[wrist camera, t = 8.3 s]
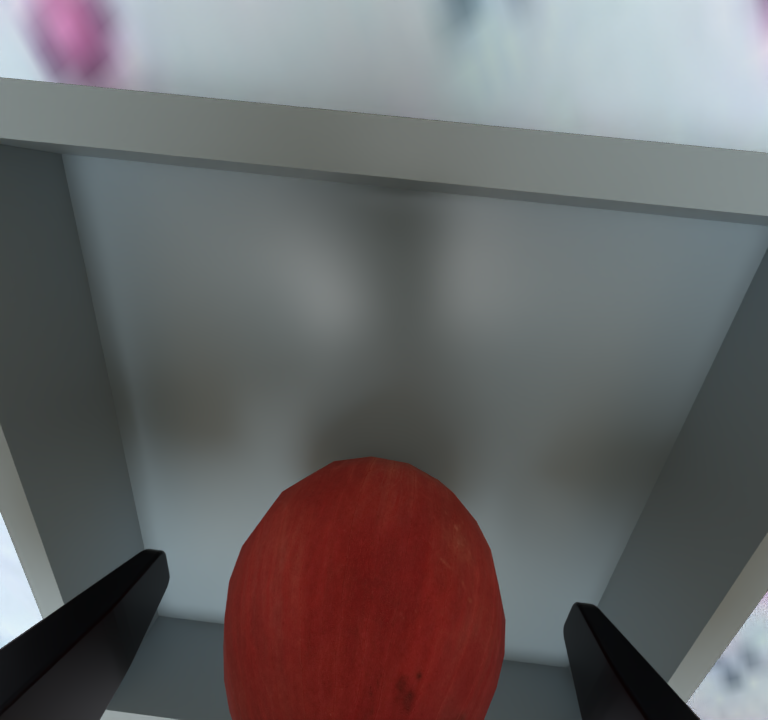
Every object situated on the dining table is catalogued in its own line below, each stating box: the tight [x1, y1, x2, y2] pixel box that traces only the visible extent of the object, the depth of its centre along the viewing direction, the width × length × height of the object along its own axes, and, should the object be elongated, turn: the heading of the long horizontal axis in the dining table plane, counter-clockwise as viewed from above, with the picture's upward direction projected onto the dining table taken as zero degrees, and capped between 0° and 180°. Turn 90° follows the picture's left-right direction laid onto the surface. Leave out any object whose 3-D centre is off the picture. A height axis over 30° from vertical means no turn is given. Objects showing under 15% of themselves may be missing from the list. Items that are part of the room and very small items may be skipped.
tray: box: [0, 77, 768, 720], centre depth 11 cm, size 18×18×4 cm
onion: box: [223, 456, 506, 720], centre depth 8 cm, size 6×6×8 cm
